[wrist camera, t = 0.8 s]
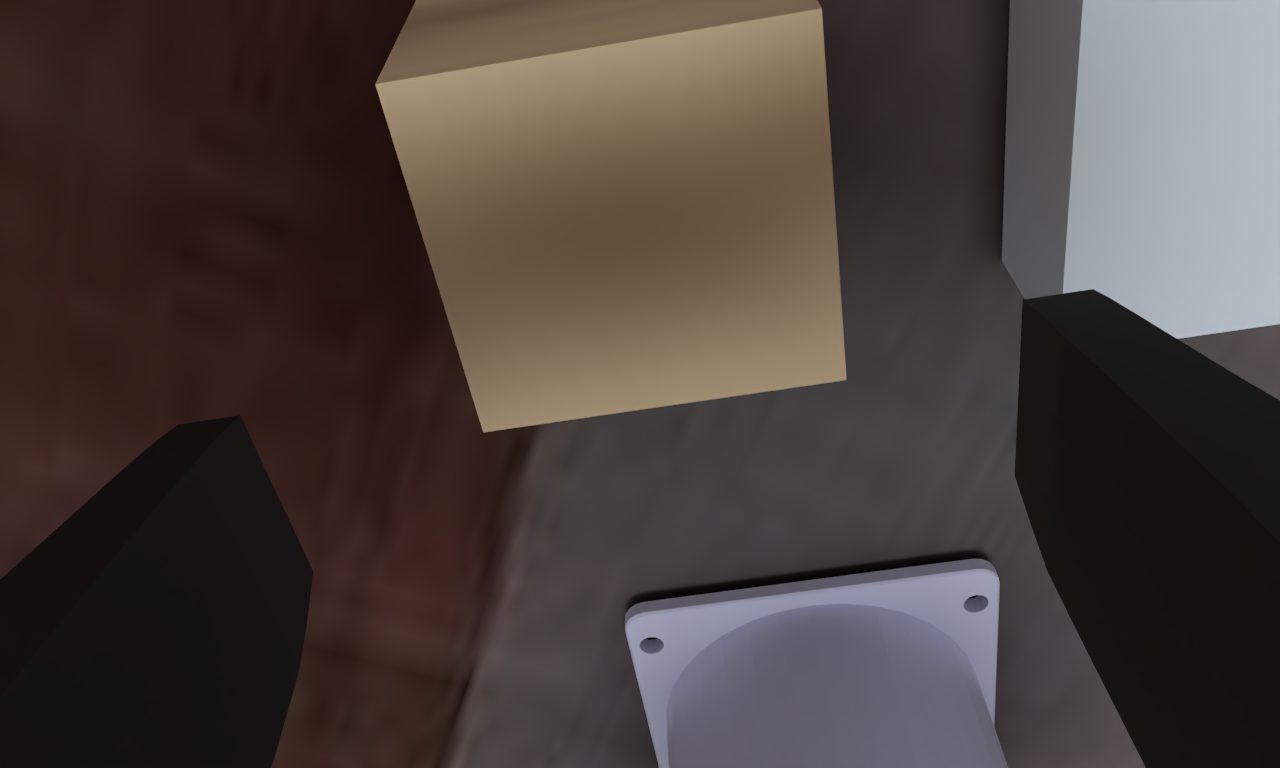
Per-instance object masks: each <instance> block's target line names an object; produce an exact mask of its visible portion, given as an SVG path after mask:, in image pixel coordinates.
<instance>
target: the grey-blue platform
mask: <svg viewBox="0 0 1280 768" xmlns="http://www.w3.org/2000/svg"><path fill="white" fill-rule="evenodd" d="M1002 262H1003V264H1004V266H1005V267H1006V269H1007V271H1008V272H1009V274H1010V276H1011V277H1012V279H1013V281H1014V282H1015V284H1016V286H1017V287H1018V289H1019V291H1020V292H1021V294H1022V296H1023V297H1024V299H1030V298H1037V297H1043V296H1050V295H1057V294H1064V293H1070V292H1077V291H1084V290H1091V289H1094V290H1096V291H1098V292H1100V293H1101V294H1103V295H1105V296H1107V297H1109V298H1110V299H1112V300H1114V301H1116V302H1117V303H1119V304H1121V305H1122V306H1124V307H1126V308H1127V309H1129V310H1131V311H1132V312H1134V313H1136V314H1137V315H1139V316H1141V317H1142V318H1144V319H1145V320H1147V321H1149V322H1150V323H1152V324H1154V325H1155V326H1157V327H1158V328H1160V329H1162V330H1163V331H1165V332H1167V333H1168V334H1170V335H1171V336H1173V337H1175V338H1176V339H1179V338H1186V337H1193V336H1200V335H1207V334H1214V333H1221V332H1228V331H1235V330H1242V329H1249V328H1256V327H1262V326H1269V325H1276V324H1280V0H1010V12H1009V44H1008V76H1007V108H1006V140H1005V172H1004V204H1003V237H1002Z"/></svg>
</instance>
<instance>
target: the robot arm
mask: <svg viewBox="0 0 1280 768" xmlns="http://www.w3.org/2000/svg"><path fill="white" fill-rule="evenodd" d="M1015 477H1016V480H1017V483H1018V486H1019V490H1020V493H1021V496H1022V499H1023V502H1024V505H1025V508H1026V511H1027V514H1028V517H1029V520H1030V523H1031V526H1032V529H1033V532H1034V534H1035V537H1036V540H1037V543H1038V546H1039V548H1040V551H1041V554H1042V557H1043V560H1044V562H1045V565H1046V568H1047V571H1048V573H1049V575H1050V577H1051V579H1052V581H1053V583H1054V585H1055V587H1056V589H1057V591H1058V593H1059V595H1060V597H1061V599H1062V601H1063V603H1064V605H1065V607H1066V610H1067V612H1068V614H1069V616H1070V618H1071V620H1072V622H1073V624H1074V626H1075V628H1076V630H1077V632H1078V634H1079V636H1080V638H1081V640H1082V642H1083V644H1084V646H1085V648H1086V650H1087V652H1088V654H1089V656H1090V658H1091V660H1092V662H1093V664H1094V666H1095V668H1096V670H1097V672H1098V674H1099V675H1100V677H1101V679H1102V681H1103V683H1104V685H1105V687H1106V689H1107V691H1108V693H1109V695H1110V697H1111V699H1112V701H1113V703H1114V705H1115V707H1116V709H1117V711H1118V713H1119V715H1120V717H1121V719H1122V721H1123V723H1124V725H1125V727H1126V729H1127V731H1128V733H1129V735H1130V737H1131V739H1132V741H1133V743H1134V745H1135V747H1136V749H1137V751H1138V753H1139V755H1140V757H1141V759H1142V761H1143V763H1144V765H1145V767H1146V768H1280V400H1278V399H1276V398H1274V397H1273V396H1271V395H1269V394H1267V393H1266V392H1264V391H1262V390H1261V389H1259V388H1257V387H1256V386H1254V385H1252V384H1250V383H1249V382H1247V381H1245V380H1244V379H1242V378H1240V377H1239V376H1237V375H1235V374H1234V373H1232V372H1230V371H1229V370H1227V369H1225V368H1224V367H1222V366H1220V365H1219V364H1217V363H1215V362H1214V361H1212V360H1210V359H1209V358H1207V357H1206V356H1204V355H1202V354H1201V353H1199V352H1197V351H1196V350H1194V349H1192V348H1191V347H1189V346H1188V345H1186V344H1184V343H1183V342H1181V341H1179V340H1178V339H1176V338H1175V337H1173V336H1171V335H1170V334H1168V333H1167V332H1165V331H1163V330H1162V329H1160V328H1158V327H1157V326H1155V325H1154V324H1152V323H1150V322H1149V321H1147V320H1145V319H1144V318H1142V317H1141V316H1139V315H1137V314H1136V313H1134V312H1132V311H1131V310H1129V309H1127V308H1126V307H1124V306H1122V305H1121V304H1119V303H1117V302H1116V301H1114V300H1112V299H1110V298H1109V297H1107V296H1105V295H1103V294H1101V293H1100V292H1098V291H1096V290H1094V289H1091V290H1084V291H1077V292H1070V293H1064V294H1057V295H1050V296H1043V297H1037V298H1030V299H1023V307H1022V329H1021V351H1020V373H1019V395H1018V417H1017V439H1016V461H1015ZM312 576H313V570H312V568H311V566H310V564H309V562H308V559H307V557H306V555H305V553H304V551H303V549H302V547H301V544H300V542H299V540H298V538H297V536H296V534H295V532H294V530H293V527H292V525H291V523H290V521H289V519H288V517H287V515H286V512H285V510H284V508H283V506H282V504H281V502H280V500H279V497H278V495H277V493H276V491H275V489H274V487H273V485H272V483H271V480H270V478H269V476H268V474H267V472H266V470H265V468H264V465H263V463H262V461H261V459H260V457H259V455H258V453H257V450H256V448H255V446H254V444H253V442H252V440H251V438H250V436H249V433H248V431H247V429H246V427H245V425H244V423H243V421H242V418H241V416H234V417H227V418H221V419H214V420H207V421H200V422H194V423H187V424H180V425H177V426H176V427H174V428H173V429H172V430H170V431H169V432H168V433H166V434H165V435H164V436H162V437H161V438H160V439H159V440H157V441H156V442H155V443H154V444H152V445H151V446H150V447H149V448H148V449H146V450H145V451H144V452H143V453H142V454H140V455H139V456H138V457H137V458H136V459H135V460H133V461H132V462H131V463H130V464H129V465H128V466H127V467H125V468H124V469H123V470H122V471H121V472H120V473H119V474H117V475H116V476H115V477H114V478H113V479H112V480H111V481H110V482H109V483H107V484H106V485H105V486H104V487H103V488H102V489H101V490H100V491H98V492H97V493H96V494H95V495H94V496H93V497H92V498H91V499H90V500H89V501H87V502H86V503H85V504H84V505H83V506H82V507H81V508H80V509H79V510H77V511H76V512H75V513H74V514H73V515H72V516H71V517H70V518H69V519H67V520H66V521H65V522H64V523H63V524H62V525H61V526H60V527H59V528H57V529H56V530H55V531H54V532H53V533H52V534H51V535H50V536H49V537H47V538H46V539H45V540H44V541H43V542H42V543H41V544H40V545H39V546H37V547H36V548H35V549H34V550H33V551H32V552H31V553H30V554H28V555H27V556H26V557H25V558H24V559H23V560H22V561H21V562H20V563H18V564H17V565H16V566H15V567H14V568H13V569H12V570H11V571H10V572H8V573H7V574H6V575H5V576H4V577H3V578H2V579H0V768H271V767H272V763H273V760H274V756H275V753H276V750H277V746H278V743H279V739H280V736H281V732H282V729H283V725H284V722H285V718H286V715H287V711H288V708H289V704H290V701H291V697H292V694H293V690H294V686H295V683H296V679H297V675H298V672H299V668H300V662H301V656H302V650H303V643H304V637H305V631H306V625H307V617H308V609H309V601H310V593H311V584H312ZM999 588H1000V582H999V578H998V575H997V572H996V570H995V567H994V566H993V565H992V564H991V563H990V562H989V561H986V560H983V559H966V560H959V561H951V562H943V563H936V564H928V565H921V566H913V567H905V568H898V569H890V570H883V571H875V572H867V573H860V574H852V575H844V576H837V577H829V578H822V579H814V580H806V581H799V582H791V583H784V584H776V585H768V586H761V587H753V588H746V589H738V590H730V591H723V592H715V593H708V594H700V595H692V596H685V597H677V598H670V599H662V600H654V601H647V602H642V603H638V604H635V605H634V606H632V607H631V608H629V609H628V611H627V613H626V614H625V632H626V636H627V640H628V644H629V648H630V652H631V656H632V660H633V664H634V669H635V673H636V677H637V681H638V685H639V689H640V693H641V697H642V701H643V705H644V709H645V713H646V717H647V721H648V725H649V729H650V733H651V737H652V741H653V745H654V749H655V753H656V757H657V761H658V765H659V768H1008V766H1007V763H1006V760H1005V757H1004V754H1003V751H1002V748H1001V745H1000V742H999V739H998V736H997V734H996V731H995V728H994V723H995V696H996V669H997V642H998V615H999ZM975 595H979V596H978V597H975V598H972V599H968V598H969V597H972V596H975ZM649 637H656V638H657V639H654V640H648V639H646V638H649Z"/></svg>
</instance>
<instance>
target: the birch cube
mask: <svg viewBox="0 0 1280 768" xmlns="http://www.w3.org/2000/svg"><path fill="white" fill-rule="evenodd" d="M375 85H376V88H377V92H378V95H379V98H380V101H381V104H382V108H383V111H384V114H385V117H386V121H387V124H388V127H389V130H390V133H391V137H392V140H393V143H394V146H395V150H396V153H397V156H398V159H399V162H400V166H401V169H402V172H403V175H404V179H405V182H406V185H407V188H408V191H409V195H410V198H411V201H412V204H413V208H414V211H415V214H416V217H417V220H418V224H419V227H420V230H421V233H422V237H423V240H424V243H425V246H426V249H427V253H428V256H429V259H430V262H431V266H432V269H433V272H434V275H435V278H436V282H437V285H438V288H439V291H440V295H441V298H442V301H443V304H444V307H445V311H446V314H447V317H448V320H449V324H450V327H451V330H452V333H453V336H454V340H455V343H456V346H457V349H458V353H459V356H460V359H461V362H462V365H463V369H464V372H465V375H466V378H467V382H468V385H469V388H470V391H471V394H472V398H473V401H474V404H475V407H476V411H477V414H478V417H479V420H480V423H481V427H482V430H483V432H490V431H497V430H504V429H511V428H518V427H525V426H532V425H539V424H545V423H552V422H559V421H566V420H573V419H580V418H587V417H594V416H601V415H608V414H615V413H622V412H629V411H636V410H642V409H649V408H656V407H663V406H670V405H677V404H684V403H691V402H698V401H705V400H712V399H719V398H726V397H733V396H739V395H746V394H753V393H760V392H767V391H774V390H781V389H788V388H795V387H802V386H809V385H816V384H823V383H830V382H836V381H843V380H847V379H846V364H845V349H844V334H843V319H842V304H841V289H840V273H839V258H838V243H837V228H836V213H835V198H834V183H833V168H832V153H831V138H830V123H829V108H828V93H827V78H826V63H825V48H824V33H823V18H822V8H821V6H820V4H819V2H818V0H416V1H415V3H414V5H413V7H412V10H411V12H410V14H409V16H408V18H407V20H406V22H405V24H404V26H403V28H402V30H401V32H400V34H399V36H398V38H397V40H396V42H395V45H394V47H393V49H392V51H391V53H390V55H389V57H388V59H387V61H386V63H385V65H384V67H383V69H382V71H381V73H380V75H379V77H378V79H377V82H376V84H375Z"/></svg>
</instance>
